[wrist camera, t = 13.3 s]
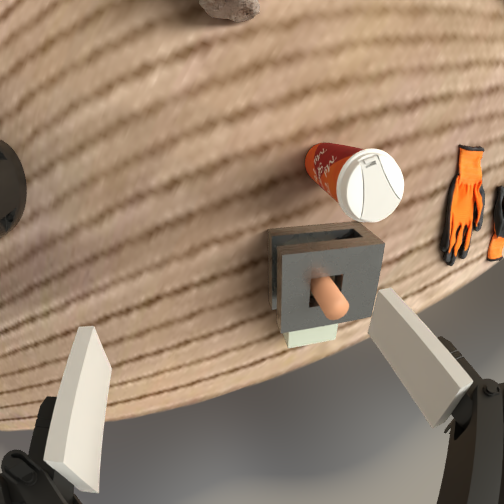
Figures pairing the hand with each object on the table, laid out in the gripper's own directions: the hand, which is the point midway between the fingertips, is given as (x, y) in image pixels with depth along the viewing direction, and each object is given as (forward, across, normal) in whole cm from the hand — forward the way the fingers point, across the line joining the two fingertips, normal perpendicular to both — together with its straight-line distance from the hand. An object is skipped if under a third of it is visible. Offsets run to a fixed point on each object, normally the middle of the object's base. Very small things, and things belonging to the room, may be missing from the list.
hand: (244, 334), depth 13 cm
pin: (+28, +14, -14) cm, 34 cm away
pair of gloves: (+28, +54, -6) cm, 61 cm away
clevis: (+28, +14, -14) cm, 34 cm away
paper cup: (+29, +16, +1) cm, 33 cm away
